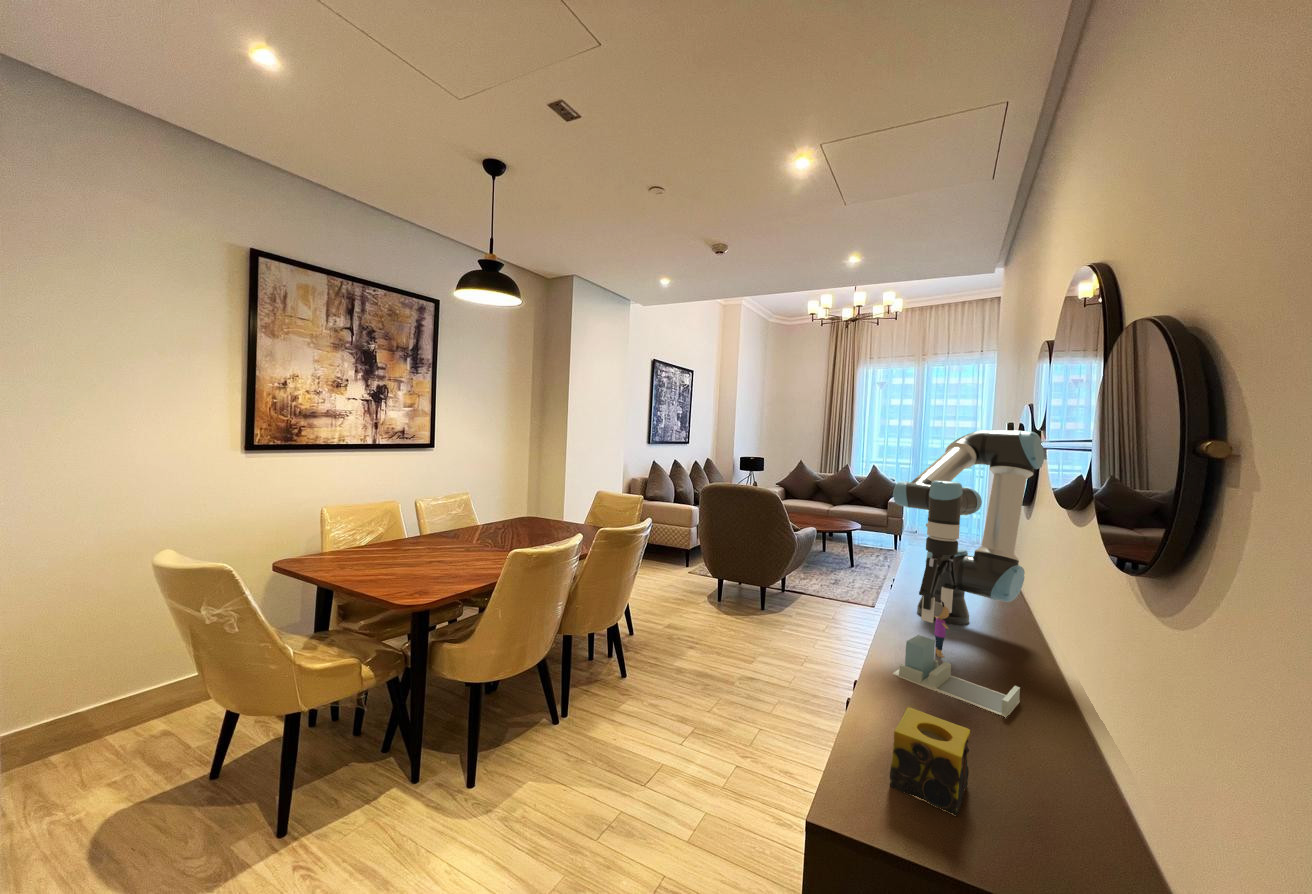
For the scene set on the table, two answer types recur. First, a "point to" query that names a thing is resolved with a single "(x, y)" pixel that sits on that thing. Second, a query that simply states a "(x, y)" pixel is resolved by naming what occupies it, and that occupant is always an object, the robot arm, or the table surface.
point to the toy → (940, 626)
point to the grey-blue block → (920, 654)
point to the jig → (962, 688)
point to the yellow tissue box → (930, 759)
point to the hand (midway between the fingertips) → (936, 616)
